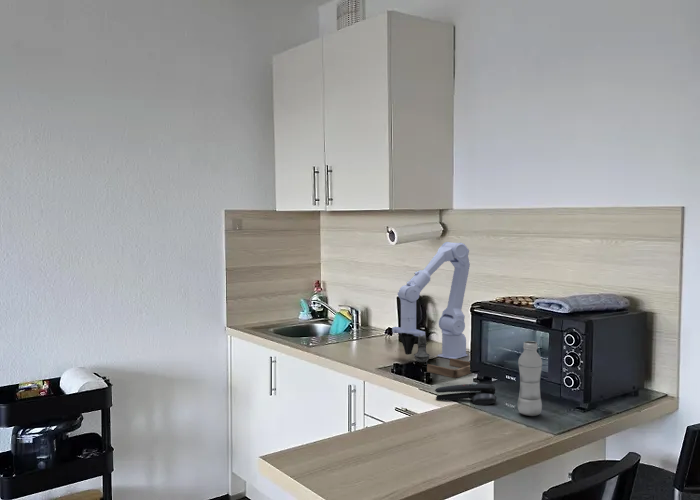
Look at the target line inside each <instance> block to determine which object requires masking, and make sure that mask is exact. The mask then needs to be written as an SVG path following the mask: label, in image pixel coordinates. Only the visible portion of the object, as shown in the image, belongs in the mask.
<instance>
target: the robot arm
mask: <svg viewBox="0 0 700 500" xmlns="http://www.w3.org/2000/svg"><path fill="white" fill-rule="evenodd" d="M469 254H470V250H469V248H468V247H467V245H466V244H465V243H463V242H451V241H445V242H444V243H442V245H441V246H439V248H438V249H437V252H436V253H435V255H433V257H432V258H431V260H430V261H429V262H428V263H427V265H426V266H425V267H424V268H423V270H422V269H419V270H418V271H415V272H414V275H413V276H412V278H411V279H409V280H408V281H407V282H406V284H404V285H402V286H401V287H400V288H399V290H398V292H397V298H399V301H400V327H399V326H393V327H391V331H392V332H391V333H394V334H395V333H397V334H400V335H399V336H398V337H399V339H400V341H401V344H402V347H403V349H404V353H405V355H411V354H412V353H413V348H414V345H415V343H416V341H417V340H418V336H419V335H420V336H423V335H425V336H426V331H424V330H420V329H417V300H418V299H419V298H420V294H421V292H422V291H423V290H424V289H425V287H426V286H427V285H428V284H429V283H430V282H431V276H432V275H433V274H435V272H436V271H437V270H438V269H439V268H440V267H441V266H442V265H443V264H444V263H445V262H450V264H451V265H452V266H453V267H454V270H453V275H452V280H451V286H450V292H449V296H448V302H447V306H446V308H445V309H444V310H443V311H442V314H441V316H440V318H439V320H438V327H439V328H440V330H441V353H440V354H437V355H436V356H437V357H438V358H439V357H440V358H445V359H449V360H450V358H453V359H460V358H464V357H468V356H469V353H468V354H467V338H466V336H465V334H464V331H465V328H466V323H465V316H466V315H465V314H464V312H463V310H462V309H463V303H464V297H465V293H466V289H467V288H466V287H467V281H468V277H469V273H470V267H471V266H470V264H471V263H470V259H469Z"/></svg>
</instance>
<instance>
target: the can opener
mask: <svg viewBox="0 0 700 500" xmlns="http://www.w3.org/2000/svg"><path fill="white" fill-rule="evenodd" d="M434 392H436V393H437V394H438V393H439V394H438V395H437V396H436V397H435V399H436V400H437V401H456V400H464V399H466V400H467V399H471V401H472V402H473V404H475V405H480V406H486V405H492V404H494V403H496V401H497V395H495V393H496V387H495V386H494V384H490V383H476V382H471V383H470V384H465V383H463V384H453V385H445V386H441V387H436V388H435V390H434ZM440 393H441V394H440ZM443 393H445V394H443Z"/></svg>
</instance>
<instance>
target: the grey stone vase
mask: <svg viewBox="0 0 700 500" xmlns="http://www.w3.org/2000/svg"><path fill="white" fill-rule="evenodd" d="M417 340H418V341H417V352H416V353H414V355H413V357H414V359H415V361H416V362H419V363H421V364H424V365H428V364H429V363H428V361H429V359H430V356H431V354H429V353H428V352H427V345H428V344H427V336H426V334H425V335H423V336H420V335H419V336H418V338H417ZM425 362H426V364H425Z"/></svg>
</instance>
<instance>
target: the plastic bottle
mask: <svg viewBox="0 0 700 500" xmlns="http://www.w3.org/2000/svg"><path fill="white" fill-rule="evenodd" d="M522 348H523V352H521V354H520V355H519V358H518V361H517V362H518V371H519V372H518V373H519V394H518V398H517V409H518V412H519V413H520V414H521V415H524V416H529V417H536V416H538V415H540V414H541V412H542V409H543V404H542V402H543V401H542V398H541V375H542V369H543V360H542V357H541V355H540V354H539V353H538V351H537V350H538V349H539V347H538V342H537V341H535V340H525V341H523V347H522Z"/></svg>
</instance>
